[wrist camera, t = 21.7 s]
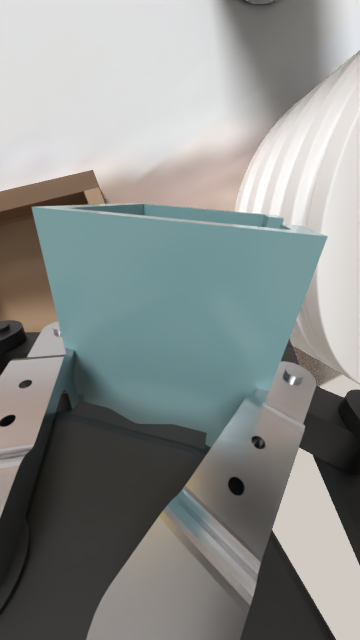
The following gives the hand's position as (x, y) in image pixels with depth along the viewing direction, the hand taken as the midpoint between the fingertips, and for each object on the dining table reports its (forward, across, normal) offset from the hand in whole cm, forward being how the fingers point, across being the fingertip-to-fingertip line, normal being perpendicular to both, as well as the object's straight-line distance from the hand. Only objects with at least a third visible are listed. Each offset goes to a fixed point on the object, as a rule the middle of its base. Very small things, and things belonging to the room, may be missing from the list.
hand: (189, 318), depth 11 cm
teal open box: (-2, 0, +7) cm, 7 cm away
